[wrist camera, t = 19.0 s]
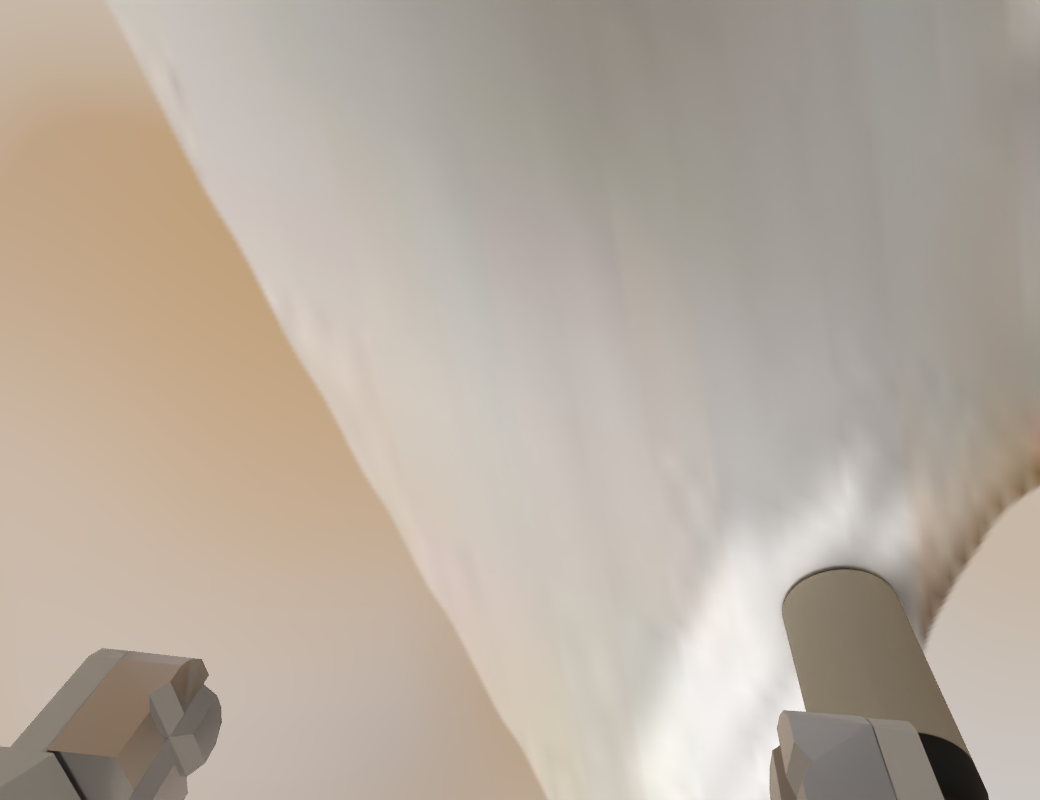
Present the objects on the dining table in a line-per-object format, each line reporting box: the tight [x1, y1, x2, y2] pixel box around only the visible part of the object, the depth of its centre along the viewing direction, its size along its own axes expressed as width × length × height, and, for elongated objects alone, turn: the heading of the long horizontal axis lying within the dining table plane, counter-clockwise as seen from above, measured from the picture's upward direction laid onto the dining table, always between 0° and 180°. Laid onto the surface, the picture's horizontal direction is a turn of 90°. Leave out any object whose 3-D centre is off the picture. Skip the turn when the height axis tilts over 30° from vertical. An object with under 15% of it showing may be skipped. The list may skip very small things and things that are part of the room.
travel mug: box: [782, 569, 989, 800], centre depth 43 cm, size 8×8×18 cm
